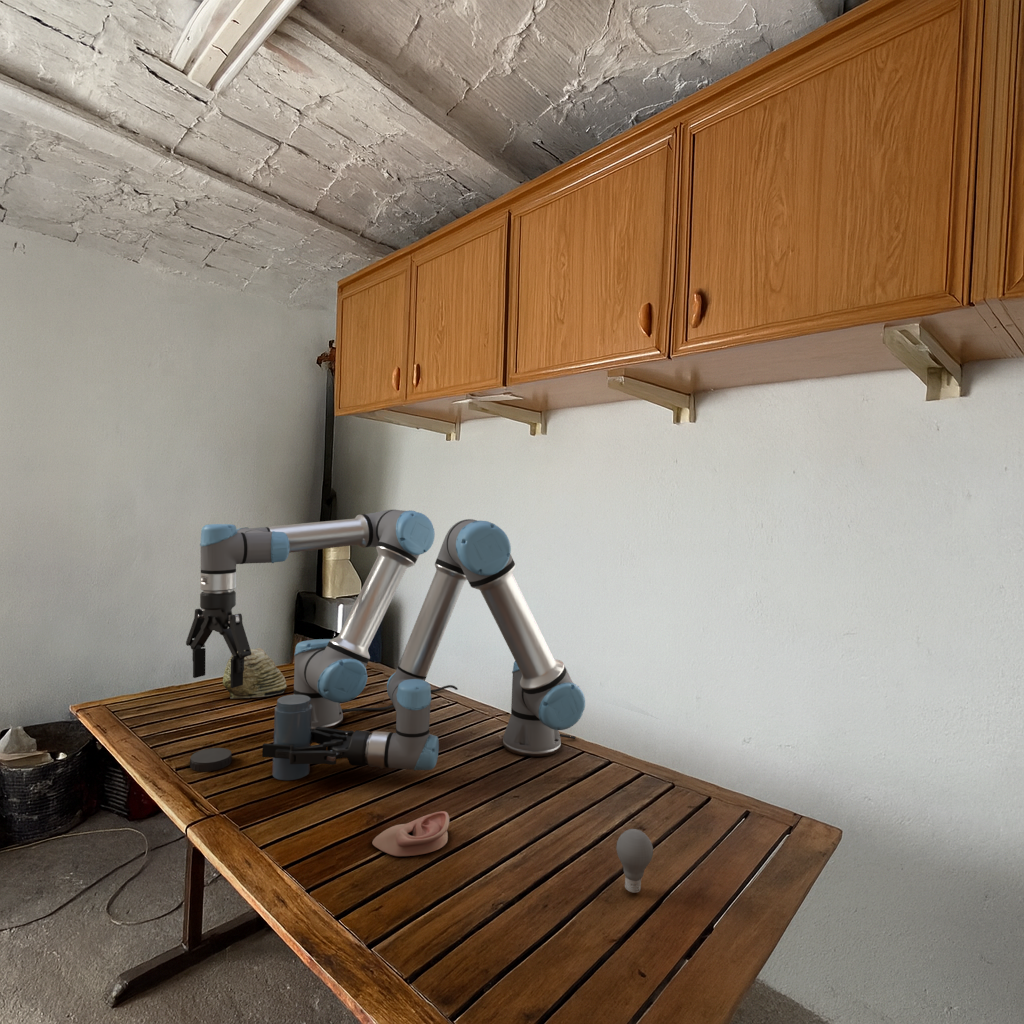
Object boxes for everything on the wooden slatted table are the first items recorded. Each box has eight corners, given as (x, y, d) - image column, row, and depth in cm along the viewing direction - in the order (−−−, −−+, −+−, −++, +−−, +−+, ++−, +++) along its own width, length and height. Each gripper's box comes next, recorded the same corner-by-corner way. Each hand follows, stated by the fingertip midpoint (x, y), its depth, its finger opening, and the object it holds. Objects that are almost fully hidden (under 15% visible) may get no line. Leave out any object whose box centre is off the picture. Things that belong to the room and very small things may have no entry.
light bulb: (610, 879, 108) (613, 822, 108) (644, 879, 109) (647, 822, 109) (619, 902, 102) (622, 840, 102) (655, 901, 103) (658, 840, 103)
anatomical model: (365, 829, 114) (390, 800, 125) (364, 851, 114) (389, 820, 125) (436, 840, 111) (455, 810, 122) (435, 863, 111) (454, 830, 122)
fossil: (218, 695, 195) (220, 647, 195) (278, 685, 208) (279, 640, 207) (228, 703, 189) (230, 653, 188) (289, 692, 201) (290, 645, 201)
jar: (284, 783, 139) (287, 707, 139) (265, 772, 144) (267, 699, 144) (316, 772, 145) (319, 699, 145) (296, 762, 150) (299, 691, 150)
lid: (208, 753, 153) (208, 745, 153) (239, 759, 151) (239, 750, 151) (180, 768, 144) (181, 759, 144) (213, 774, 142) (213, 765, 142)
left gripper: (170, 587, 150) (169, 676, 150) (239, 598, 138) (238, 695, 138) (199, 583, 156) (198, 668, 157) (268, 593, 144) (267, 686, 145)
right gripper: (354, 786, 133) (249, 778, 134) (381, 746, 154) (290, 740, 156) (355, 750, 133) (250, 743, 134) (382, 716, 154) (291, 710, 155)
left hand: (217, 681), depth 148 cm, fingers open, 13 cm apart
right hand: (272, 742), depth 145 cm, fingers open, 9 cm apart
